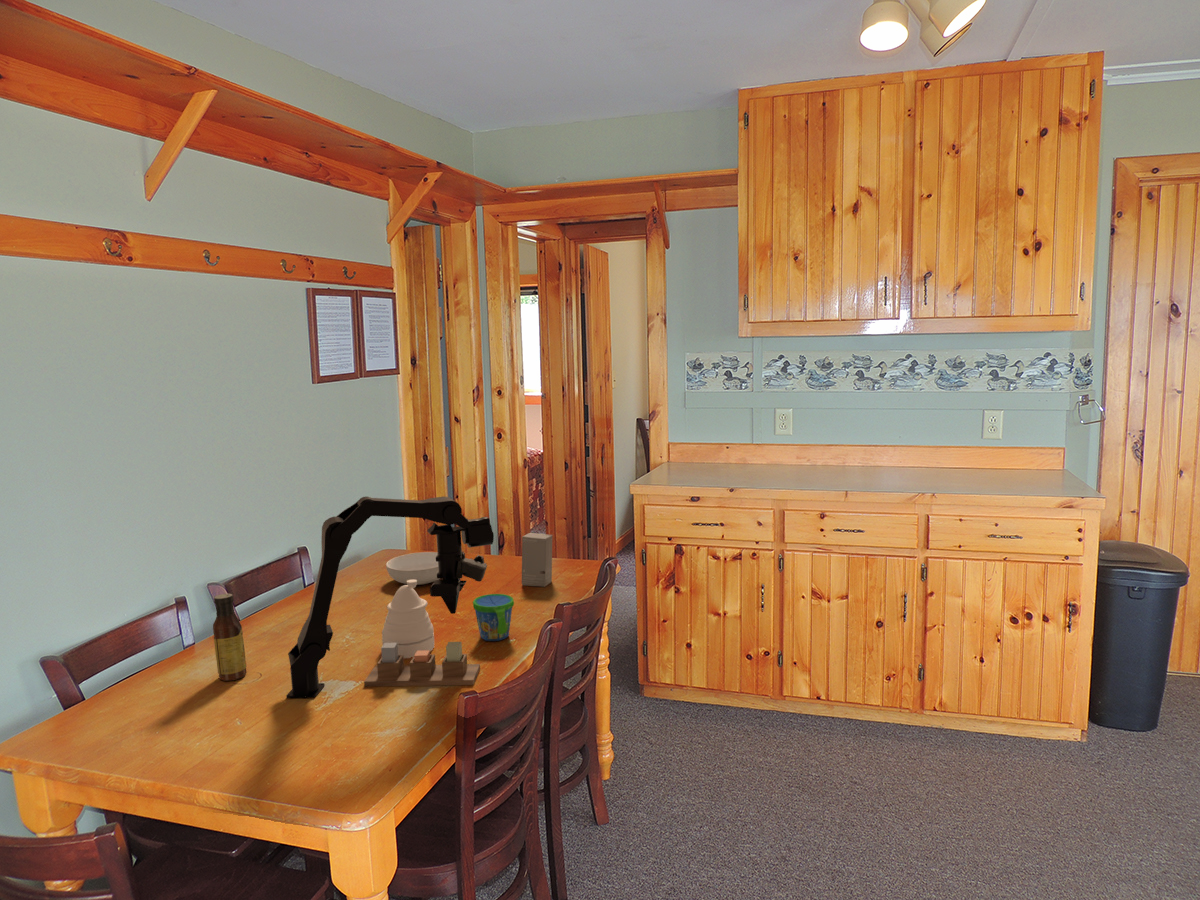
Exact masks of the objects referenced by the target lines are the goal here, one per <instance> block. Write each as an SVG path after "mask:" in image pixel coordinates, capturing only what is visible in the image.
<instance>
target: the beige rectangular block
mask: <svg viewBox="0 0 1200 900" xmlns="http://www.w3.org/2000/svg"><path fill="white" fill-rule="evenodd" d="M445 650H446V651H445V652H446V654H445V656H446V655H447V662H454V661H462V654H463V645H462V641H448V642H447V644H446V646H445Z"/></svg>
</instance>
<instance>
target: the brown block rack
mask: <svg viewBox="0 0 1200 900" xmlns="http://www.w3.org/2000/svg"><path fill="white" fill-rule="evenodd" d="M398 657H399V659H398V661H397V662H385V663H382V656H381V657H380V659H379V660H378V662H377V663H376V665H375V666H373V668H372V670H371V671H370V673H369V674H367V676H366V678H365V679H364V681H363V686H364V687H420V686H421V687H424V686H425V687H426V686H428V687H429V686H430V687H431V686H433V687H434V686H438V687H439V686H474V685H475V682H476V680H477V678H478V675H479V673H480V670H481V664H480V663H469V664H468V654H467V653H462V661H454V662H447V655H446V654H445V656H444V658H443V659H442V662H441V664H436V654H430V660H429V662H414V657H413V658H411V660H410V662H409V664H405V661H404V660H405V658H403V655H398Z"/></svg>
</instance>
